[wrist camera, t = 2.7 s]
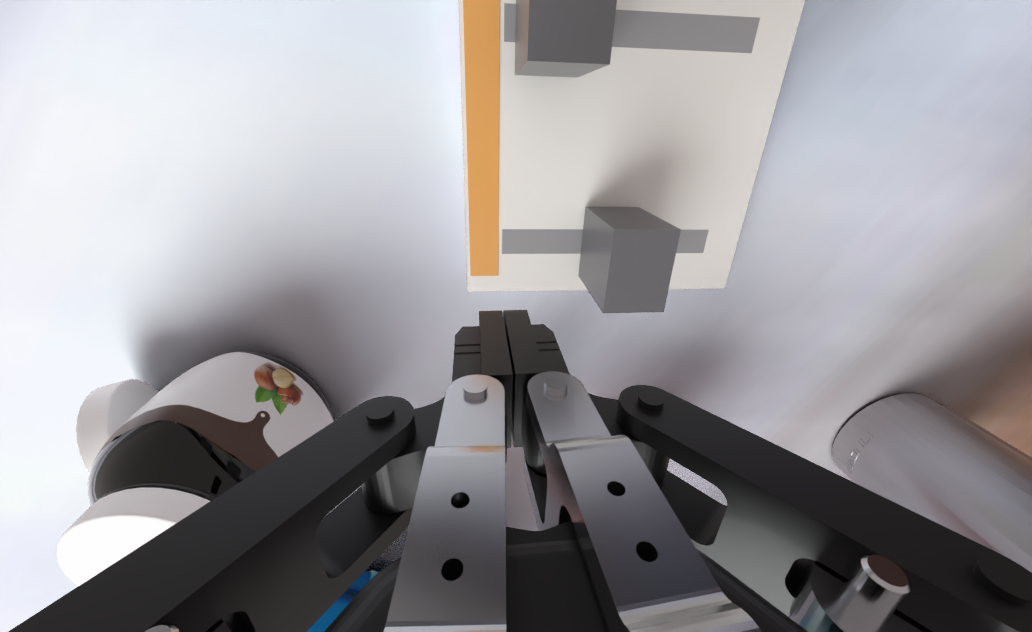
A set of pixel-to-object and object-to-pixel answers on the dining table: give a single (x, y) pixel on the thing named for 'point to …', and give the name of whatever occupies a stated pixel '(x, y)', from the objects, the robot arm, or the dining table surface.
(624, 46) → the panel
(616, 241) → the block
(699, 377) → the dining table surface
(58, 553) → the spread jar
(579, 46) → the breaker
